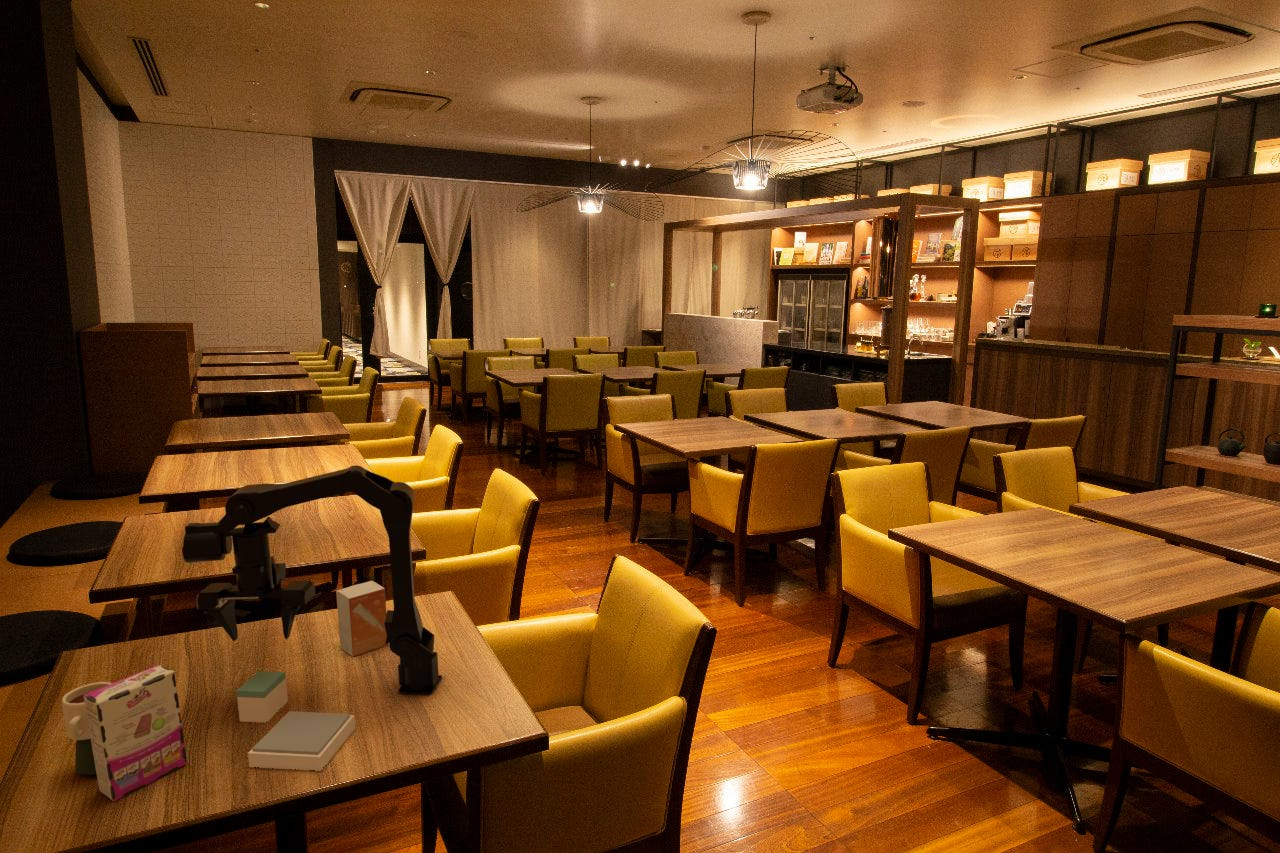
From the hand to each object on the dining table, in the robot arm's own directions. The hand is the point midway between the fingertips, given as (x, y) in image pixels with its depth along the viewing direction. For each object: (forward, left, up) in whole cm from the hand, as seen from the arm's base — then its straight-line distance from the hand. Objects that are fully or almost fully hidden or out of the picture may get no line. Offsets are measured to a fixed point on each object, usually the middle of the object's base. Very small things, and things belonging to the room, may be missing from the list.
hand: (261, 638), depth 141 cm
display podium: (-14, +13, -13) cm, 23 cm away
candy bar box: (+7, +23, -13) cm, 27 cm away
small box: (-8, -23, -13) cm, 28 cm away
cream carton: (-1, +3, -13) cm, 13 cm away
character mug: (+16, +21, -13) cm, 29 cm away
